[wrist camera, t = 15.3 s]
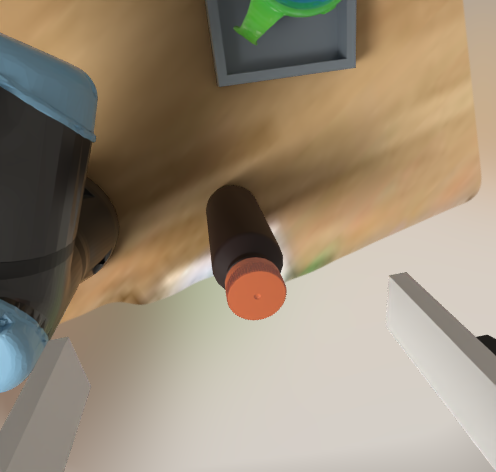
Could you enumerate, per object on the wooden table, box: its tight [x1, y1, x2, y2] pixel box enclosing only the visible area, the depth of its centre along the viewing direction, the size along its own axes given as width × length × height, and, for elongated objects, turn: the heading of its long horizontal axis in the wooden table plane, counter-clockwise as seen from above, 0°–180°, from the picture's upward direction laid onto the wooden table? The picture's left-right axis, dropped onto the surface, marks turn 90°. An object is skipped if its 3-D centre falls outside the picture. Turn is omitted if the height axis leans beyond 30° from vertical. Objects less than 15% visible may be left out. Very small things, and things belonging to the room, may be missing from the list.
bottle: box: [206, 185, 286, 320], centre depth 37 cm, size 7×7×20 cm
